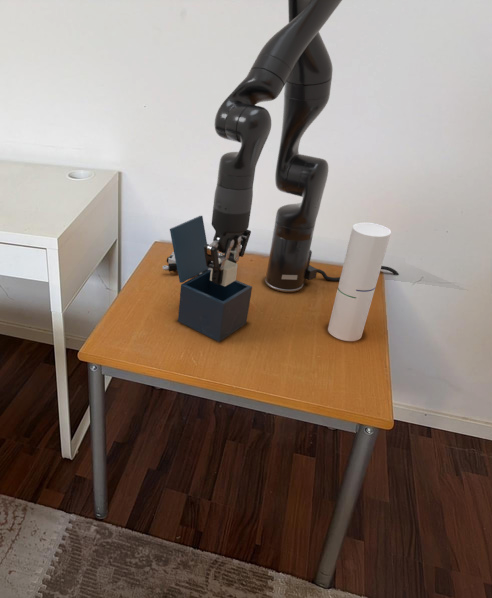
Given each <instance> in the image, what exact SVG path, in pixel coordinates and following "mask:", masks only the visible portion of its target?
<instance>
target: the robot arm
mask: <svg viewBox="0 0 492 598" xmlns="http://www.w3.org/2000/svg"><path fill="white" fill-rule="evenodd" d="M342 1H343V0H287V7H288V8H287V9H288V10H287V11H288V12H287V13H288V23H287V24H286V25H284V26H283V27H282V28H281V29H279V30H278V31H277V32H276V33H275V34H274V35H272V36H271V37H270V38H269V39H268V41H267V42H266V43H265V44H264V45H263V47H262V48H261V50H260V51H259V53H258V54H257V56H256V58H255V60H254V61H253V63H252V66H251V67H250V70H249V72H248V73H247V75H246V77H244V78H243V80H242V81H240V83H239V84H238V85H237V86H236V87H235V88H234V89H233V90H232V92H231V93H230V94H229V95H228V96H227V97H226V98H225V99H224V101H223V102H222V103H221V104H220V106H219V107H218V109H217V112H216V114H215V118H214V131H215V133H216V135H217V136H219V138H221V139H224V140H229V141H231V142H232V141H233V142H236V143H240V144H241V145H240V148H239V150H238V151H229V152H226V153H224V154H222V155H221V157H220V159H219V163H218V171H217V181H216V187H215V191H214V195H213V196H214V197H213V204H212V205H213V207H212V216H211V226H212V228H213V229H214V231H215V232H214V235H213V240H212V242H211V243H210V244H208V243H207V244H205V246H204V252H205V259H206V266H207V267H210V268H212V269H213V272H212V282H213V283H215V284H217V285H220V284H222V278H223V270H224V269H223V268H224V265H225V261H226V260H228V261H231V262H234V263H236V264H237V263H238V262H239V260H240V258H242V257H244V255H245V252H246V249H247V246H248V243H249V240H250V236H251V233H252V231H251V230H250V229H249V225H250V218H251V213H252V206H253V197H254V182H255V176H256V175H255V174H256V169H257V168H256V167H257V164H258V162H259V159H260V157H261V154H262V151H263V149H264V147H265V144H266V142H267V140H268V138H269V136H270V133H271V129H272V117H271V114H270V112H269V110H268V109H266V108H265V107H264V106H260V105H257V104H259V103H265V102H271V101H274V100H276V99H277V98H278V97H279V96H280V94H281V93H282V91H284V92H283V111H282V122H281V123H282V124H281V132H280V133H281V135H280V140H279V147H278V153H277V159H276V166H275V173H274V174H275V175H274V176H275V177H274V180H275V181H274V182H275V187H276V189H277V190H278V191H280V192H282V193H285V194H288V195H293V196H296V197H302V199H301V202H299V203H290V204H289V203H288V204H285V205H281V206H280V207H279V208H278V209H277V210H276V214H275V220H274V225H273V231H272V239H271V245H270V251H269V257H268V263H267V268H266V274H265V277H264V283H265V285H266V286H267V287H268V288H270V289H271V290H274V291H276V292H281V293H296V292H300V291H301V290H302V289H303V287H304V285H306V283H307V281H311V280H314V279H316V278H317V274H320V275H321V276H322V277H323V279H325V280H327V281H330V282H339V281H340V277H341V276H339V277H332V276H329V275H327V273H326V272H325V271H324V270H322V269H319V268H317V267H314V266H312V265H310V264H311V259H312V254H313V251H312V249H311V246H312V241H313V237H314V232H315V227H316V223H317V218H318V215H319V211H320V207H321V203H322V199H323V195H324V192H325V187H326V184H327V180H328V176H329V163H328V161H327V160H326V159H324V158H321V157H316V156H311V155H305V154H301V153H300V152H299V148H300V143H301V140H302V137H303V135H304V134H305V132H307V130H308V128H309V127H310V126H311V125H312V123H314V122H315V120H316V119H317V118H318V117H319V116H320V115H321V113H322V112H323V111H324V109H325V108H326V107H327V105H328V103H329V100H330V95H331V90H332V82H333V81H332V80H333V69H334V68H333V62H332V59H331V57H330V54H329V51H328V49H327V47H326V45H325V42H324V40H323V38H322V35H321V33H320V31H321V29H322V28H323V27H324V25H325V24H326V23H327V22H328V20H329V19H330V18H331V16H332V14H334V12H335V11H336V9H337V8H338V7H339V6H340V4H341V3H342ZM283 89H284V90H283ZM220 253H224V254H220ZM218 258H220V259H221V262H220V263H219V260H218ZM211 261H212V262H211ZM381 270H383V271H388V272H389V273H392V274H393V275H395V276H399V274H400V273H399V272H398V271H397V270H396V269H394V268H393V267H390V266H387V265H386V266H385V265H382V266H381Z"/></svg>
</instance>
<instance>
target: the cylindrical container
mask: <svg viewBox="0 0 492 598" xmlns="http://www.w3.org/2000/svg"><path fill="white" fill-rule="evenodd" d="M391 234H392V231H391V228H389V227H387V226H385V225H382V224H380V223H376V222H369V221H368V222H367V221H365V222H364V221H363V222H362V221H361V222H356V223H354V224H353V225H352V228H351V231H350V236H349V241H348V244H347V248H346V251H345V252H346V253H345V257H344V261H343V265H342V269H341V273H340V276H339V277H340V281H338V284H337V285H338V286H337V290H336V294H335V298H334V301H333V306H332V309H331V314H330V318H329V323H328V326H327V332H328V333H329V334H330V335H331V336H332V337H333V338H336V339H338V340H341V341H345V342H356V341H359V340H360V339H361V338H362V336H363V333H364V330H365V326H366V322H367V319H368V316H369V312H370V308H371V304H372V302H373V298H374V295H375V291H376V287H377V285H378V284H377V283H378V280H379V276H380V273H381V270H382V269H381V266H383V262H384V259H385V255H386V253H387V252H386V251H387V248H388V244H389V242H390V237H391Z"/></svg>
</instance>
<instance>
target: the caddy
mask: <svg viewBox="0 0 492 598" xmlns="http://www.w3.org/2000/svg"><path fill="white" fill-rule="evenodd" d="M210 275H211V270H210V269H209V270H207V271H205V272H204V273H202V274H200V275H198V276H194V277H192V278H190V279H188V280H186V281H185V282H183V283H180V289H179V291H180V293H179V303H178V316H177V322H178V323H180V324H182V325H184V326H186V327H188V328H190V329H192V330H194V331H195V332H198V333H200V334H202V335H204V336H205V337H208V338H209V339H212V340H214V341H216V342H218V343H220V342H222V341H223V340H224V339H227V337H229V336H230V335H232V334H234V332H237V331H238V330H240V329H241V328H242V327H244V326H245V325H247V324H248V323H247V322H248V317H249V311H250V303H251V297H252V292H253V291H252V290H253V286H252V285H250V284H247V283H245V282H243V281H240V280H237V279H236V281H234V282H232V283H230V284H229V285H227V286H222V285H217V284H215V283H213V282H212V281H211V280H210Z"/></svg>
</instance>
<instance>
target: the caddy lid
mask: <svg viewBox="0 0 492 598" xmlns="http://www.w3.org/2000/svg"><path fill="white" fill-rule="evenodd" d="M169 233H170V239H171V243H172V248H173V252H174V255H175V260H176V265H177V271H176V272H177V275H178V280H179V283H180V284H183V283H185V282H187V281H189V280H190V279H192V278H194V277H196V275H198V274H200V273H201V272H203V271H205V270H207V269H209V268H210V267H207V266H206V259H205V252H204V246H205V244H208V240H207V235H206V229H205V224H204V217H203V215H198V216H196V217H193V218H192V219H189V220H187V221H185V222H182V223H180V224H178V225H175V226H173V227H170V228H169Z"/></svg>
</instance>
